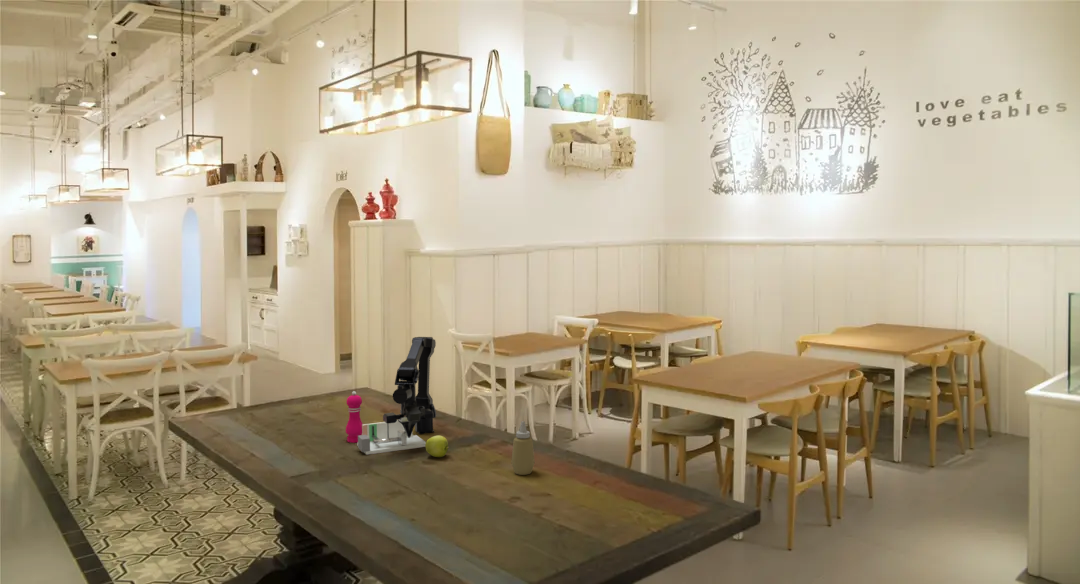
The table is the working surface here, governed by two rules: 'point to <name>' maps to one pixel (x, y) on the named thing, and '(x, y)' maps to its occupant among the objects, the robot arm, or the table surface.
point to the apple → (437, 446)
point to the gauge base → (384, 432)
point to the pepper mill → (354, 418)
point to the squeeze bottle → (523, 452)
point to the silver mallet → (401, 438)
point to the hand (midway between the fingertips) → (408, 437)
